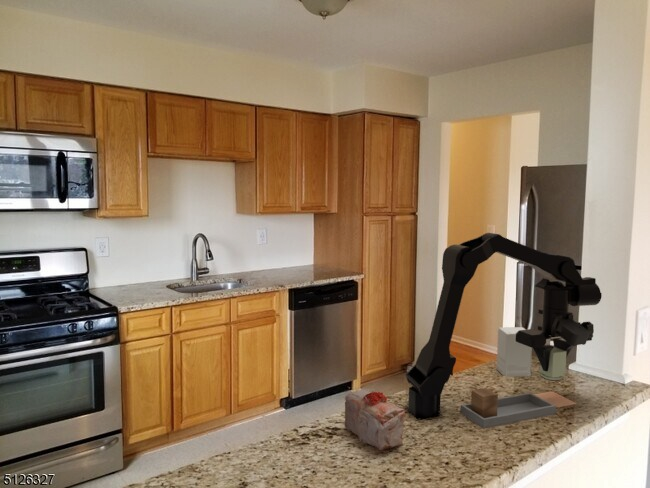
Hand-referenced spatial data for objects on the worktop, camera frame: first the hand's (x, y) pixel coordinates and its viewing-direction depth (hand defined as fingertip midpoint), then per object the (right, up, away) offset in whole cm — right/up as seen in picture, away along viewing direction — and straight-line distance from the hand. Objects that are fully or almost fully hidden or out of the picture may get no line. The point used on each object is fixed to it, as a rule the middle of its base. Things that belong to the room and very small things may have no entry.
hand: (552, 369), depth 122 cm
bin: (-13, -9, -7) cm, 17 cm away
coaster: (0, -8, +1) cm, 8 cm away
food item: (-45, -10, -17) cm, 49 cm away
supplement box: (-2, -6, +20) cm, 21 cm away
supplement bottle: (+8, -7, +18) cm, 20 cm away
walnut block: (-20, -9, -9) cm, 23 cm away
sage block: (0, -1, 0) cm, 1 cm away
